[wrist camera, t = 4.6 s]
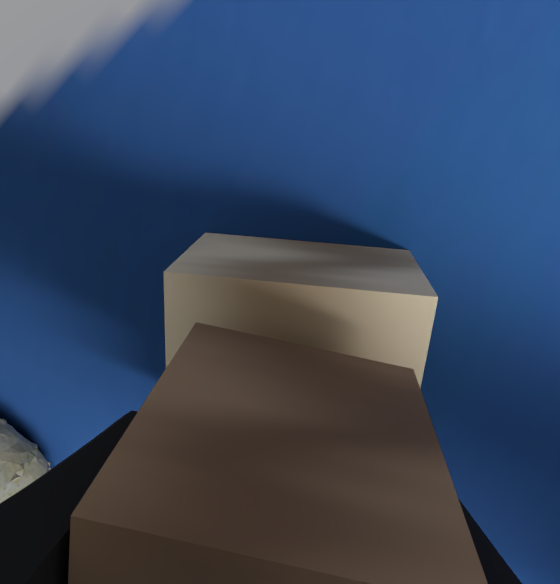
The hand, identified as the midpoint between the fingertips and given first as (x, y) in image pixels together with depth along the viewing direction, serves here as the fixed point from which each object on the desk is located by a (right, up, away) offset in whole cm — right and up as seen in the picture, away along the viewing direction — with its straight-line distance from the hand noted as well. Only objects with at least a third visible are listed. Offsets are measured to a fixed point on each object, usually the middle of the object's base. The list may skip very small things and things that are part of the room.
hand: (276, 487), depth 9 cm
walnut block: (0, 0, +2) cm, 2 cm away
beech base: (+1, +2, +6) cm, 7 cm away
